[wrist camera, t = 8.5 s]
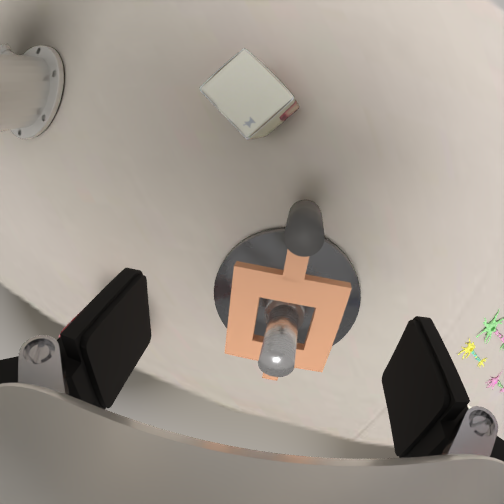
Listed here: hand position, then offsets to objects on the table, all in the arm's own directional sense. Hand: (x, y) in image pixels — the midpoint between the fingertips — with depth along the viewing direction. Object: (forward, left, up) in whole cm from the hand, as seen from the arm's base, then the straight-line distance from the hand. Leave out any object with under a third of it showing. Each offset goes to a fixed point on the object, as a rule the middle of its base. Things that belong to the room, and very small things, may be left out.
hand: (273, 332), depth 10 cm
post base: (+8, -7, -19) cm, 22 cm away
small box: (-9, +3, -19) cm, 22 cm away
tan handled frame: (+6, -5, -17) cm, 19 cm away
